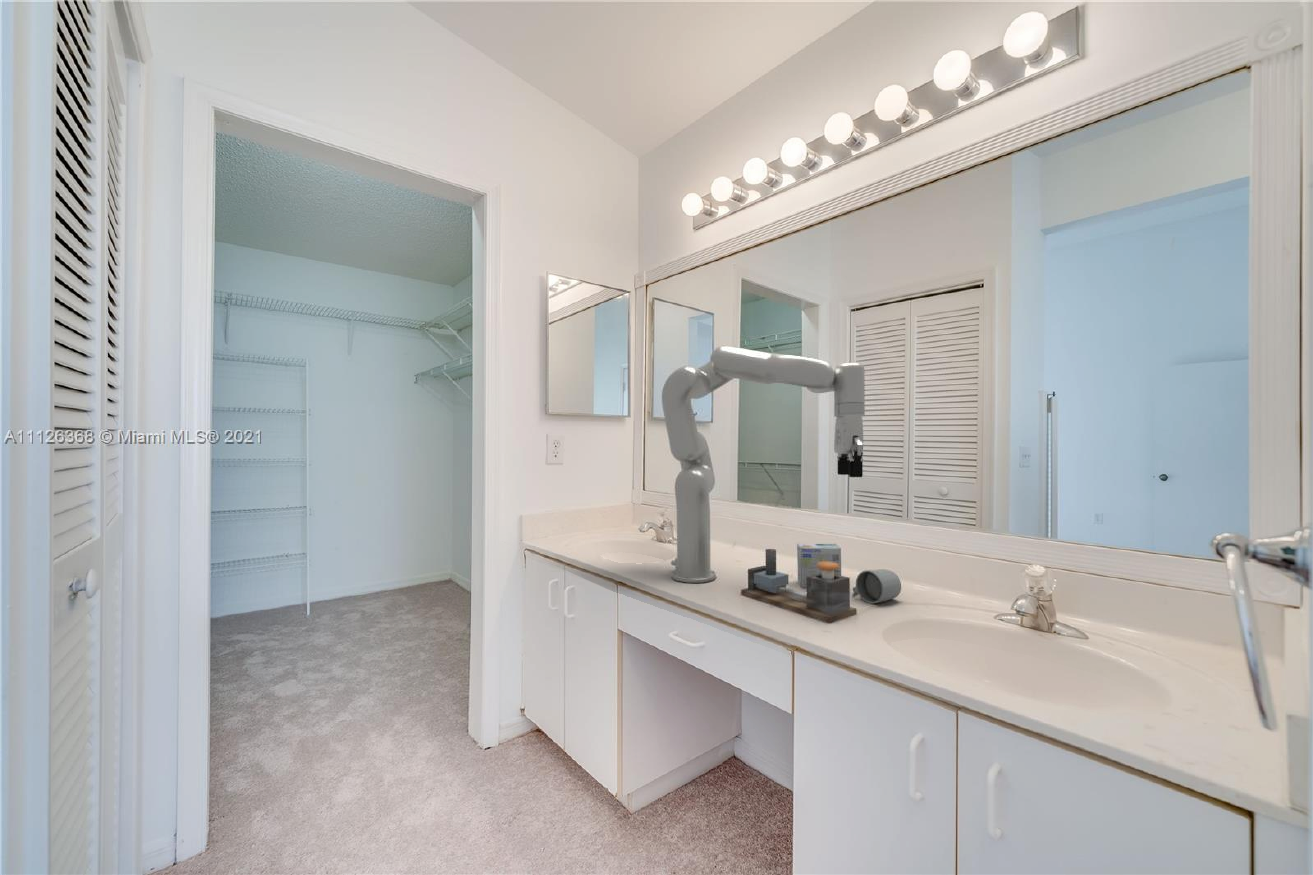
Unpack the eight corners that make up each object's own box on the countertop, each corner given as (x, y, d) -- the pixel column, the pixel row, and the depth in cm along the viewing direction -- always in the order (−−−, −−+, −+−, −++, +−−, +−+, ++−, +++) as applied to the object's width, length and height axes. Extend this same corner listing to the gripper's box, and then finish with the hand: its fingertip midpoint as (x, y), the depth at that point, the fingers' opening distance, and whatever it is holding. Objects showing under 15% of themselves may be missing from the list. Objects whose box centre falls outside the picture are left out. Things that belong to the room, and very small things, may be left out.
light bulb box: (836, 581, 140) (835, 542, 140) (842, 589, 133) (842, 547, 133) (796, 581, 141) (796, 542, 141) (800, 588, 134) (800, 547, 134)
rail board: (741, 594, 128) (740, 561, 128) (767, 587, 134) (767, 556, 134) (829, 623, 108) (829, 584, 108) (856, 613, 114) (856, 577, 114)
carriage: (753, 587, 128) (753, 549, 128) (769, 583, 131) (769, 546, 131) (772, 593, 123) (772, 553, 123) (788, 589, 126) (788, 550, 126)
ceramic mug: (904, 601, 122) (903, 569, 122) (883, 607, 118) (882, 574, 118) (865, 591, 131) (865, 561, 131) (844, 596, 127) (844, 565, 127)
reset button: (813, 585, 114) (813, 563, 114) (825, 582, 117) (825, 560, 117) (830, 590, 111) (830, 567, 111) (842, 586, 113) (842, 564, 113)
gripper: (825, 412, 142) (826, 473, 142) (844, 408, 125) (845, 478, 125) (853, 412, 142) (853, 473, 142) (876, 408, 125) (876, 478, 125)
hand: (849, 475), depth 133 cm, fingers open, 9 cm apart
